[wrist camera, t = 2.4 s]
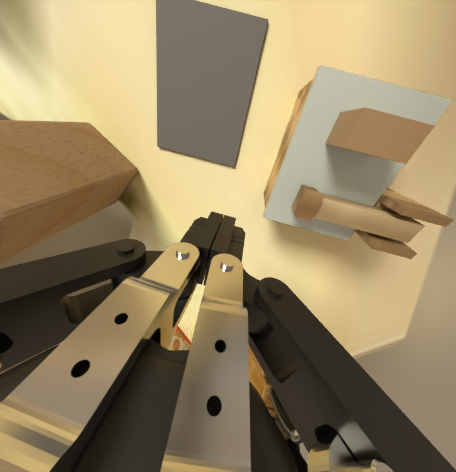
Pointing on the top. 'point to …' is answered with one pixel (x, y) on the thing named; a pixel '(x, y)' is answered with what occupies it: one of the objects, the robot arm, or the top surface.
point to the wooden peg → (353, 215)
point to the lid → (351, 143)
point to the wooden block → (54, 179)
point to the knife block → (277, 412)
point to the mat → (205, 77)
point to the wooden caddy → (386, 202)
